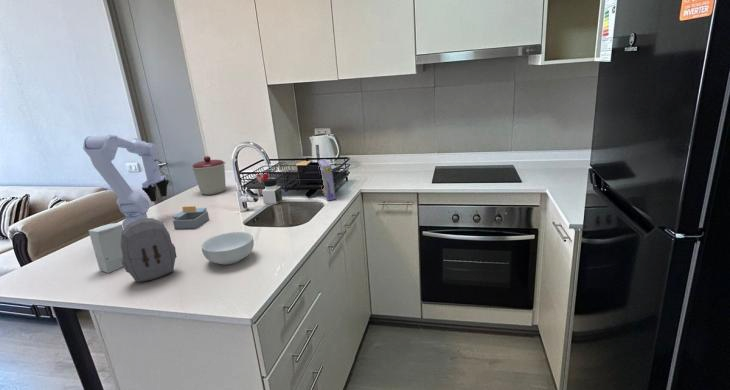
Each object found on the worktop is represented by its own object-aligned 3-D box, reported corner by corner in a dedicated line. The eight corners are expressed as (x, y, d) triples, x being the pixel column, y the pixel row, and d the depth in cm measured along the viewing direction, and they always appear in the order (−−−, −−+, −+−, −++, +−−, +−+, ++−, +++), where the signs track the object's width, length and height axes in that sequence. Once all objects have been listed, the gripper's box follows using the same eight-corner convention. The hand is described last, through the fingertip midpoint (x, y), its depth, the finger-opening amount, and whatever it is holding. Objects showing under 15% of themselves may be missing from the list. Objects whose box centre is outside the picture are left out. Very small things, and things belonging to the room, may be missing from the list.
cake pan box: (320, 191, 205) (317, 159, 200) (330, 190, 206) (326, 158, 201) (326, 201, 187) (322, 166, 182) (336, 200, 188) (333, 165, 183)
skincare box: (108, 273, 127) (96, 232, 123) (98, 270, 130) (86, 230, 126) (133, 262, 134) (122, 223, 130) (123, 260, 137) (112, 221, 133)
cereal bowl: (261, 261, 128) (258, 242, 126) (209, 276, 120) (205, 256, 118) (249, 244, 142) (246, 227, 140) (202, 257, 135) (198, 238, 133)
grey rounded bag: (177, 265, 130) (164, 209, 124) (183, 274, 123) (169, 215, 117) (127, 281, 121) (110, 222, 116) (130, 291, 115) (112, 229, 109)
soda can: (256, 195, 206) (252, 174, 203) (265, 192, 212) (262, 170, 208) (266, 196, 203) (262, 174, 199) (275, 192, 209) (272, 171, 205)
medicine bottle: (276, 204, 189) (273, 180, 185) (263, 204, 190) (259, 180, 187) (282, 199, 196) (279, 176, 192) (269, 199, 197) (266, 177, 194)
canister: (219, 197, 209) (212, 159, 203) (190, 197, 212) (182, 160, 206) (236, 187, 226) (229, 152, 220) (208, 188, 229) (201, 153, 223)
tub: (196, 228, 163) (194, 220, 162) (174, 229, 164) (172, 220, 163) (209, 219, 173) (207, 211, 172) (188, 220, 174) (186, 212, 173)
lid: (194, 219, 177) (192, 210, 176) (173, 219, 178) (171, 211, 177) (207, 210, 188) (205, 202, 187) (186, 211, 189) (185, 203, 188)
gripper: (150, 173, 163) (157, 203, 167) (170, 165, 177) (176, 193, 181) (134, 174, 164) (142, 204, 168) (155, 166, 178) (162, 194, 182)
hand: (159, 198), depth 174 cm, fingers open, 7 cm apart
